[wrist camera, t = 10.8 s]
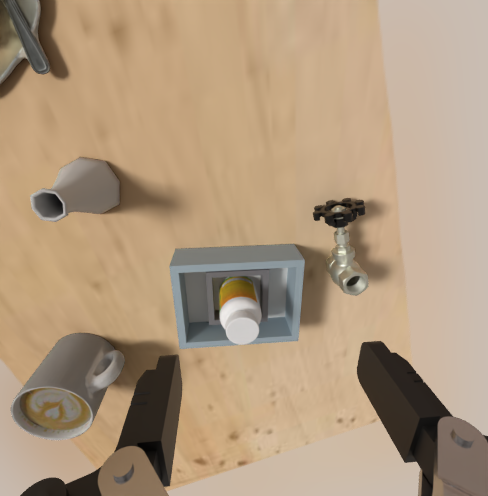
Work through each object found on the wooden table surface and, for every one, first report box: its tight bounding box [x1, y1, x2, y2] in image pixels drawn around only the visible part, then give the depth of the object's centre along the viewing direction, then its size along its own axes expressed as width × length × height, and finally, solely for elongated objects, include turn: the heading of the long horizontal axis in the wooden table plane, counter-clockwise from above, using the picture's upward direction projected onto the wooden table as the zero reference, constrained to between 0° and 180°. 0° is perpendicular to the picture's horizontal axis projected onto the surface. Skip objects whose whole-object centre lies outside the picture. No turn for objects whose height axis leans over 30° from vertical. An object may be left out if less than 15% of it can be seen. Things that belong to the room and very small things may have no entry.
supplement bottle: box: [219, 276, 262, 345], centre depth 37 cm, size 5×5×10 cm
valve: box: [313, 198, 368, 296], centre depth 38 cm, size 7×7×12 cm
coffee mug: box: [11, 333, 125, 440], centre depth 41 cm, size 13×10×10 cm
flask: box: [30, 157, 120, 222], centre depth 31 cm, size 7×7×10 cm
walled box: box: [170, 244, 305, 349], centre depth 40 cm, size 13×17×6 cm
